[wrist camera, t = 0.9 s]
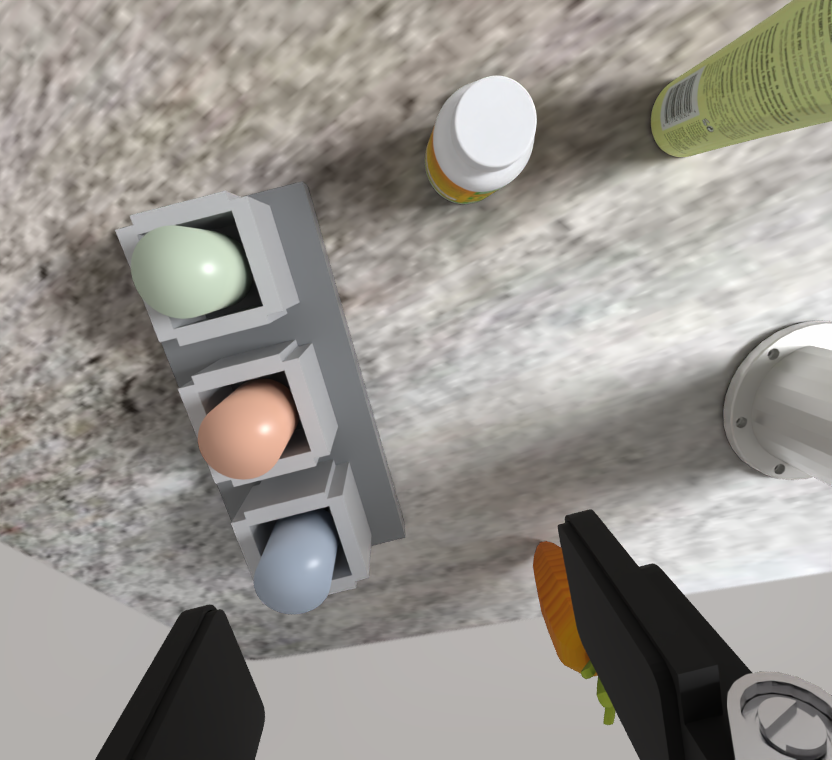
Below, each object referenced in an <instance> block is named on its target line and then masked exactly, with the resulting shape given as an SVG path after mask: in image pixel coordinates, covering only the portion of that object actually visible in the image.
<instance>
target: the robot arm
mask: <svg viewBox="0 0 832 760" xmlns="http://www.w3.org/2000/svg"><path fill="white" fill-rule="evenodd" d="M723 416H724V428H725V432H726V436H727V439H728V441H729V443H730V445H731V447H732V449H733V450H734V451H735V453H736V454H737V455H738V456H739V457H740V459H741V460H743V461H744V462H745V463H747V464H748V465H749V466H751V467H752V468H754V469H756V470H758V471H760V472H761V473H763V474H765V475H768V476H771V477H774V478H777V479H786V480H799V479H808V478H812V477H814V478H816V479H818V480H820V481H822V482H824V483H826V484H828V485H830V486H832V322H830V321H808V322H803V323H799V324H796V325H792V326H789V327H787V328H785V329H783V330H780V331H778V332H776V333H774V334H773V335H771V336H770V337H768V338H767V339H765V340H764V341H762V342H761V343H760V344H759V345H758V346H757V347H756V348H755V349H754V350H752V351H751V352H750V353H749V354H748V356H747V357H746V358H745V360H744V361H743V362H742V363H741V365H740V366H739V367H738V369H737V371H736V373H735V375H734V376H733V378H732V380H731V382H730V385H729V388H728V391H727V394H726V397H725V403H724V409H723ZM558 532H559V538H560V543H561V548H562V553H563V559H564V564H565V569H566V574H567V580H568V585H569V590H570V595H571V601H572V606H573V611H574V616H575V622H576V627H577V631H578V634H579V637H580V640H581V642H582V645H583V647H584V649H585V651H586V653H587V655H588V657H589V659H590V661H591V663H592V665H593V667H594V669H595V671H596V673H597V675H598V677H599V679H600V681H601V683H602V685H603V687H604V689H605V691H606V693H607V695H608V697H609V699H610V701H611V703H612V705H613V707H614V709H615V711H616V713H617V715H618V717H619V719H620V721H621V723H622V725H623V726H624V728H625V731H626V732H627V735H628V737H629V739H630V741H631V742H632V745H633V747H634V749H635V751H636V753H637V755H638V757H639V759H640V760H832V695H830V694H829V693H827V692H826V691H824V690H823V689H821V688H820V687H818V686H816V685H814V684H812V683H810V682H808V681H805V680H803V679H801V678H799V677H795V676H791V675H787V674H783V673H779V672H756V673H752V672H751V671H750V670H749V669H748V667H747V666H746V665H745V664H744V663H743V662H742V661H741V660H740V658H739V657H738V656H737V655H736V654H735V653H734V651H733V650H732V649H731V648H730V647H729V646H728V645H727V643H726V642H725V641H724V640H723V639H722V638H721V637H720V636H719V634H718V633H717V632H716V631H715V630H714V629H713V628H712V626H711V625H710V624H709V623H708V622H707V621H706V619H705V618H704V617H703V616H702V615H701V614H700V613H699V611H698V610H697V609H696V608H695V607H694V606H693V605H692V604H691V602H690V601H689V600H688V599H687V598H686V597H685V595H684V594H683V593H682V592H681V591H680V590H679V589H678V587H677V586H676V585H675V584H674V583H673V582H672V581H671V579H670V578H669V577H668V576H667V575H666V574H665V573H664V571H663V570H662V569H661V568H660V567H658V566H657V565H655V564H653V563H652V564H648V565H644V566H640V567H639V566H638V565H637V564H636V563H635V561H634V560H633V559H632V558H631V557H630V555H629V554H628V553H627V552H626V550H625V549H624V548H623V547H622V545H621V544H620V543H619V542H618V540H617V539H616V538H615V537H614V535H613V534H612V533H611V532H610V531H609V529H608V528H607V527H606V526H605V524H604V523H603V522H602V521H601V519H600V518H599V517H598V516H597V514H596V513H595V512H594V511H593V510H591V509H590V510H586V511H582V512H578V513H574V514H570V515H566V516H565V523H563V524H559V525H558ZM264 722H265V711H264V706H263V703H262V700H261V698H260V695H259V693H258V691H257V688H256V686H255V684H254V681H253V679H252V676H251V674H250V672H249V669H248V667H247V665H246V662H245V660H244V657H243V655H242V652H241V650H240V648H239V645H238V643H237V641H236V638H235V636H234V633H233V631H232V629H231V626H230V624H229V621H228V619H227V617H226V614H225V613H224V611H223V610H220V609H219V610H217V609H216V608H215V607H214V606H213V605H206V606H202V607H198V608H194V609H190V610H186V611H184V612H182V613H181V614H180V616H179V617H178V619H177V620H176V622H175V624H174V626H173V627H172V629H171V631H170V633H169V634H168V636H167V638H166V640H165V641H164V643H163V644H162V646H161V648H160V650H159V651H158V653H157V655H156V656H155V658H154V660H153V662H152V664H151V665H150V667H149V668H148V670H147V672H146V673H145V675H144V677H143V679H142V680H141V682H140V684H139V685H138V687H137V689H136V691H135V692H134V694H133V696H132V697H131V699H130V701H129V703H128V704H127V706H126V708H125V709H124V711H123V713H122V715H121V716H120V718H119V720H118V721H117V723H116V725H115V727H114V728H113V730H112V732H111V733H110V735H109V737H108V738H107V740H106V742H105V743H104V745H103V747H102V749H101V750H100V752H99V754H98V755H97V757H96V759H95V760H255V757H256V753H257V749H258V746H259V742H260V738H261V734H262V731H263V727H264Z"/></svg>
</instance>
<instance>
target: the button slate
mask: <svg viewBox="0 0 832 760" xmlns="http://www.w3.org/2000/svg"><path fill="white" fill-rule="evenodd" d="M338 541H339V534H338V531H337V528H336V525H335V522H334V519H333V516H332V515H331V514H330V513H329V512H327V511H326V510H324V509H323V508H319V509H315V510H312V511H308V512H304V513H300V514H296V515H292V516H288V517H284V518H280V519H278V520H277V522H276V524H275V526H274V529H273V531H272V533H271V536H270V538H269V540H268V543H267V545H266V547H265V550H264V552H263V554H262V557H261V559H260V561H259V564H258V566H257V568H256V571H255V574H254V588H255V591H256V593H257V595H258V597H259V598H260V600H261V601H262V602H263V603H264V604H265V605H267V606H268V607H269V608H271V609H273V610H275V611H277V612H280V613H284V614H302V613H306V612H309V611H311V610H313V609H315V608H316V607H318V606H319V605H320V604H321V603H322V602H323V601H324V600H325V599H326V597H327V595H328V593H329V591H330V586H331V581H332V575H333V569H334V564H335V558H336V552H337V547H338Z"/></svg>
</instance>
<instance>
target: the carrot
mask: <svg viewBox="0 0 832 760" xmlns="http://www.w3.org/2000/svg"><path fill="white" fill-rule="evenodd" d="M533 569H534V575H535V581H536V586H537V592H538V597H539V602H540V607H541V611H542V615H543V617H544V620H545V623H546V626H547V629H548V632H549V634H550V637H551V639H552V642H553V645H554V647H555V650H556V652H557V655H558V657H559V659H560V660H561V662H562V663H563V664H564V665H565V666H567V667H569V668H571V669H573V670H575V671H577V672H579V673H581V675H582V677H583V678H585V679H588V678H591V677H593V676H598V675H597V673H596V671H595V669H594V667H593V665H592V663H591V661H590V659H589V657H588V655H587V653H586V651H585V649H584V647H583V645H582V642H581V640H580V637H579V634H578V631H577V627H576V622H575V616H574V611H573V606H572V601H571V595H570V590H569V585H568V580H567V574H566V569H565V564H564V559H563V553H562V548H561V547H559V546H557V545H556V544H554V543H551V542H547V541H544V542H540V544H539V545H538V546H537V548H536V551H535V554H534V561H533ZM597 697H598V700H599V702H600V703H601V705H602V706H603V707H605V714H604V724H606V725H611V724H613V722H614V718H615V709H614V707H613V705H612V703H611V701H610V699H609V697H608V695H607V693H606V691H605V689H604V687H603V685H602V683H601V681H600V679H599V677H598V682H597Z"/></svg>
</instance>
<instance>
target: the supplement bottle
mask: <svg viewBox="0 0 832 760" xmlns="http://www.w3.org/2000/svg"><path fill="white" fill-rule="evenodd" d="M536 124H537V117H536V110H535V106H534V103H533V101H532V98H531V97H530V95H529V93H528V92H527V91H526V89H525V88H524V87H523V86H522V85H521V84H519V83H518V82H516V81H515V80H513V79H511V78H508V77H504V76H489V77H485V78H482V79H480V80H478V81H475V82H472V83H469V84H467V85H465V86H463V87H461V88H460V89H458V90H457V91H455V92H454V93H453V94H452V95H451V96H450V97H449V98H448V99H447V101H446V102H445V103H444V105H443V107H442V108H441V110H440V112H439V114H438V116H437V119H436V122H435V125H434V128H433V131H432V133H431V136H430V139H429V142H428V145H427V148H426V154H425V169H426V173H427V176H428V179H429V181H430V183H431V185H432V186H433V188H434V189H435V190H436V192H437V193H438V194H440V195H441V196H442V197H444V198H445V199H447V200H449V201H451V202H454V203H458V204H471V203H475V202H478V201H480V200H483V199H484V198H486V197H488V196H489V195H491V194H492V193H494V192H496V191H497V190H499V189H500V188H502V187H504V186H505V185H507V184H509V183H510V182H511V181H512V180H514V179H515V178H516V177H517V176H518V175H519V174H520V173H521V171H522V170H523V169H524V167H525V166H526V164H527V162H528V160H529V158H530V155H531V152H532V149H533V144H534V135H535V131H536Z"/></svg>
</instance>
